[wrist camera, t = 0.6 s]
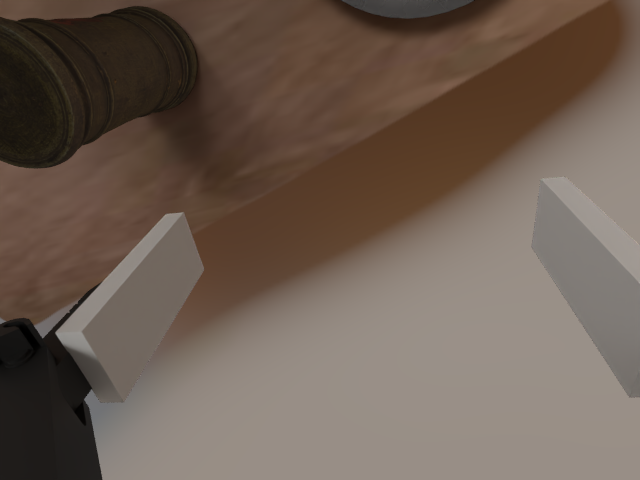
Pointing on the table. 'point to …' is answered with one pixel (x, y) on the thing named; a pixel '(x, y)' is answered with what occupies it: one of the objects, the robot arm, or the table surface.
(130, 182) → the table surface
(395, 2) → the turntable
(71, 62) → the container
